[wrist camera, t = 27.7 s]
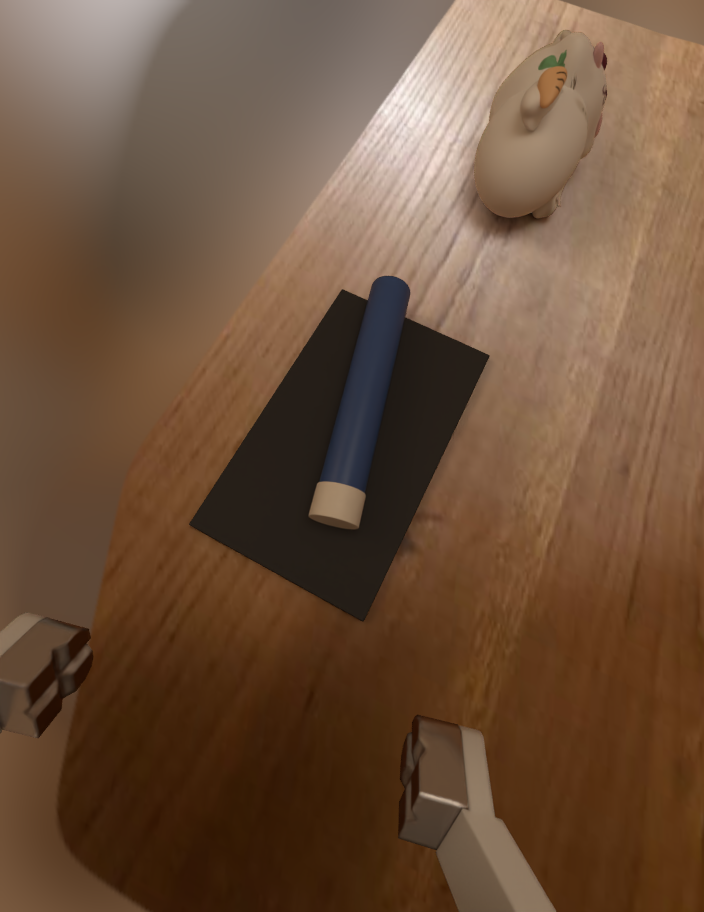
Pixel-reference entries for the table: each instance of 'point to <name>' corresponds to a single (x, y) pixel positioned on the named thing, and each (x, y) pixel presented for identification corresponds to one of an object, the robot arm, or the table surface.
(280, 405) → the mat
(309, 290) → the table surface
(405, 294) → the marker
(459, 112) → the table surface
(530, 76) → the cat figurine
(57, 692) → the robot arm
